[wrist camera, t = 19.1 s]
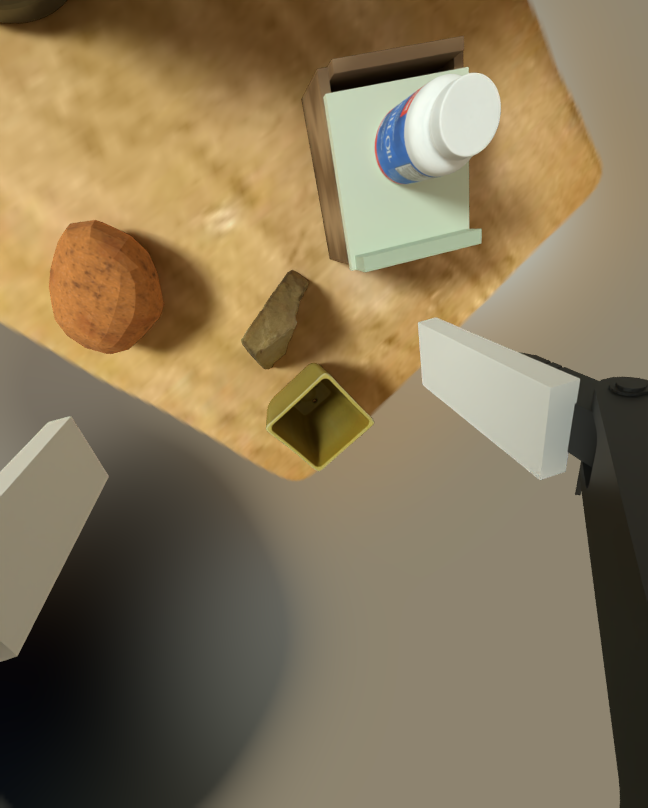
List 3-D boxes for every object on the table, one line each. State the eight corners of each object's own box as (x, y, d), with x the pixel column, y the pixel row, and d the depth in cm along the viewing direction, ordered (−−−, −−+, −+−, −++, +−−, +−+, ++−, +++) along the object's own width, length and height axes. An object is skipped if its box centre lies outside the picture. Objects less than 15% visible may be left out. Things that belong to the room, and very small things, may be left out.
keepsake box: (301, 99, 33) (321, 61, 25) (421, 76, 34) (473, 34, 27) (329, 259, 39) (352, 265, 32) (429, 234, 41) (473, 235, 33)
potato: (186, 262, 36) (176, 269, 30) (145, 355, 39) (127, 380, 33) (88, 207, 33) (51, 201, 26) (50, 314, 36) (9, 333, 29)
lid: (323, 97, 27) (333, 81, 25) (462, 70, 29) (488, 52, 26) (349, 269, 33) (360, 273, 31) (464, 241, 35) (485, 242, 32)
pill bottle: (383, 94, 28) (451, 33, 19) (442, 120, 29) (529, 74, 21) (363, 175, 30) (416, 152, 21) (419, 194, 31) (489, 181, 23)
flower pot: (353, 391, 47) (377, 423, 39) (305, 434, 48) (319, 473, 41) (309, 345, 43) (326, 371, 35) (258, 393, 44) (263, 428, 36)
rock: (289, 238, 36) (206, 296, 35) (339, 288, 32) (248, 353, 31) (313, 306, 45) (249, 351, 45) (353, 349, 42) (284, 400, 41)
